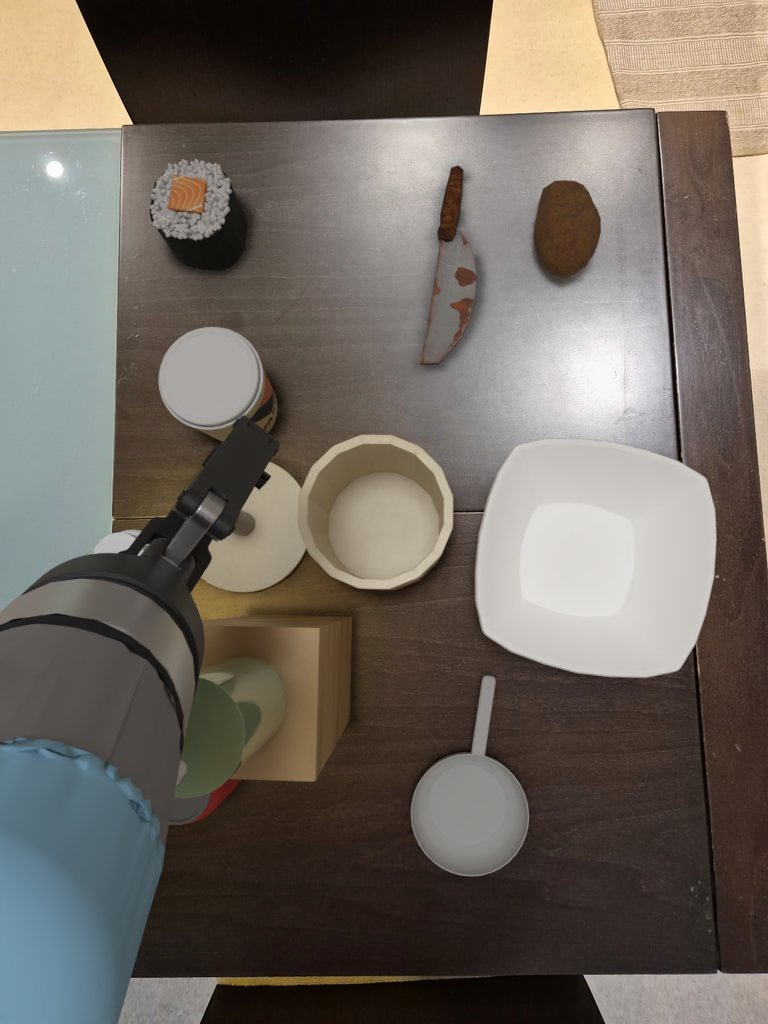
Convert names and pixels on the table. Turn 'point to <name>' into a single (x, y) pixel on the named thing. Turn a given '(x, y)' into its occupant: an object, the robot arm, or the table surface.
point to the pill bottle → (118, 542)
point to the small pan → (470, 805)
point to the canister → (229, 721)
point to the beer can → (200, 804)
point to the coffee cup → (216, 382)
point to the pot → (376, 512)
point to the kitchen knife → (450, 278)
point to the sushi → (199, 215)
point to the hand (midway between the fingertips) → (165, 544)
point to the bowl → (596, 557)
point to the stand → (293, 686)
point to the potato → (566, 228)
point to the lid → (260, 538)
